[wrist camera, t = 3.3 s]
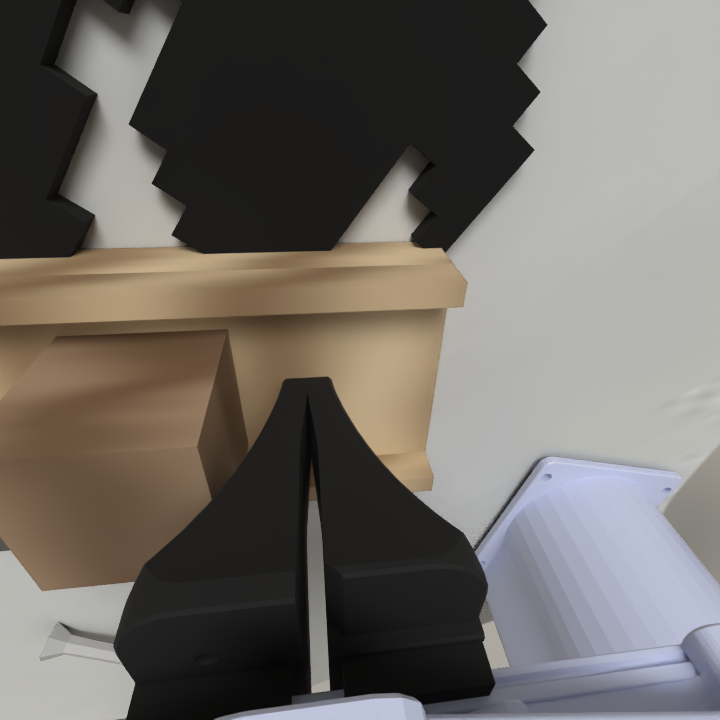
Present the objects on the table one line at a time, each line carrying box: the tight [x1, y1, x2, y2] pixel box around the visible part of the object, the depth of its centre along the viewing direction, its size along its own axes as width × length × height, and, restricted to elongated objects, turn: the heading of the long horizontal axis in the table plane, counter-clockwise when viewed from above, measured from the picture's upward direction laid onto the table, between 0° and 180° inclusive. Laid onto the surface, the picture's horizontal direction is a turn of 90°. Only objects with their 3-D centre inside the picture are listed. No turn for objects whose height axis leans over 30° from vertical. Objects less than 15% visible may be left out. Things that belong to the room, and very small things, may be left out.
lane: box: [0, 242, 468, 551], centre depth 14 cm, size 22×13×4 cm, turn 89°
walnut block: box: [0, 329, 248, 591], centre depth 11 cm, size 4×4×4 cm
